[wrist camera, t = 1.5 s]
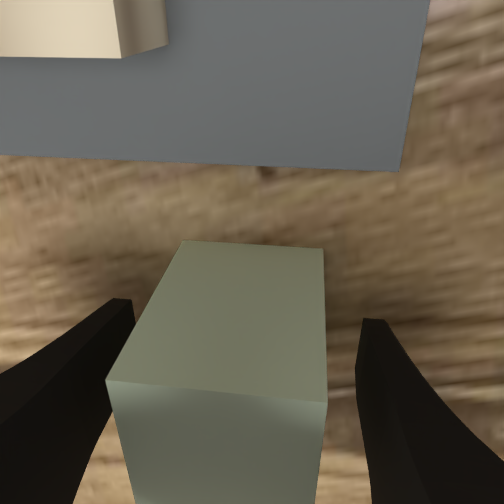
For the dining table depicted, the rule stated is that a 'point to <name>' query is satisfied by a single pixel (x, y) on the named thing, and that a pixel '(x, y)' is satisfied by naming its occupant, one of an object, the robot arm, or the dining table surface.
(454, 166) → the dining table surface
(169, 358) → the post
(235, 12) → the mat
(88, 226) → the dining table surface
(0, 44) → the base
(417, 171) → the dining table surface
